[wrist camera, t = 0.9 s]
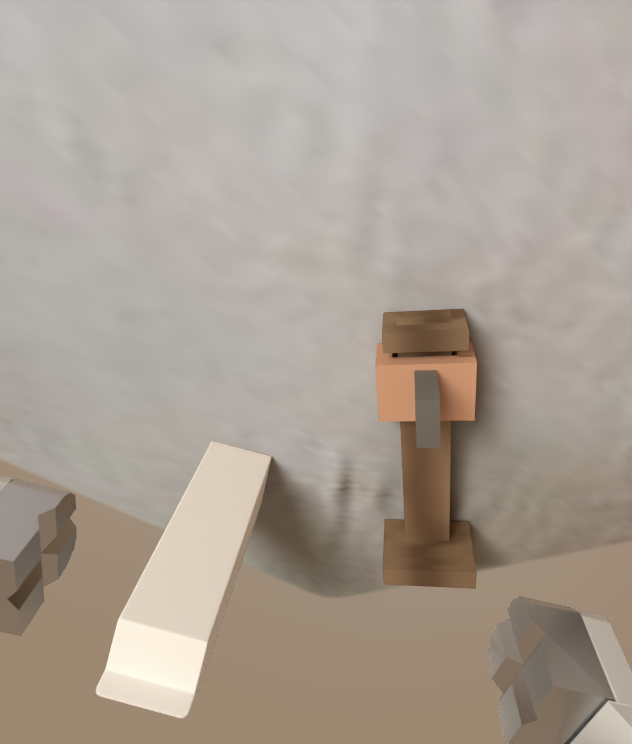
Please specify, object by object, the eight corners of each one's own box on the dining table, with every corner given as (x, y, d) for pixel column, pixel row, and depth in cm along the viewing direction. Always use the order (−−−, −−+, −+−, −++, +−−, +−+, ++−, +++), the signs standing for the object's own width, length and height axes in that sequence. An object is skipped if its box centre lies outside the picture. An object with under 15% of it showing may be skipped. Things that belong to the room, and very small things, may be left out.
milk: (211, 439, 49) (90, 665, 30) (273, 455, 49) (190, 693, 30) (205, 485, 52) (92, 717, 33) (263, 501, 52) (182, 742, 33)
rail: (477, 308, 39) (488, 343, 34) (468, 536, 50) (475, 588, 45) (370, 313, 40) (366, 347, 35) (385, 533, 52) (383, 584, 47)
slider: (471, 339, 40) (484, 392, 33) (469, 394, 42) (481, 453, 36) (377, 343, 41) (372, 394, 34) (380, 396, 43) (377, 453, 37)
